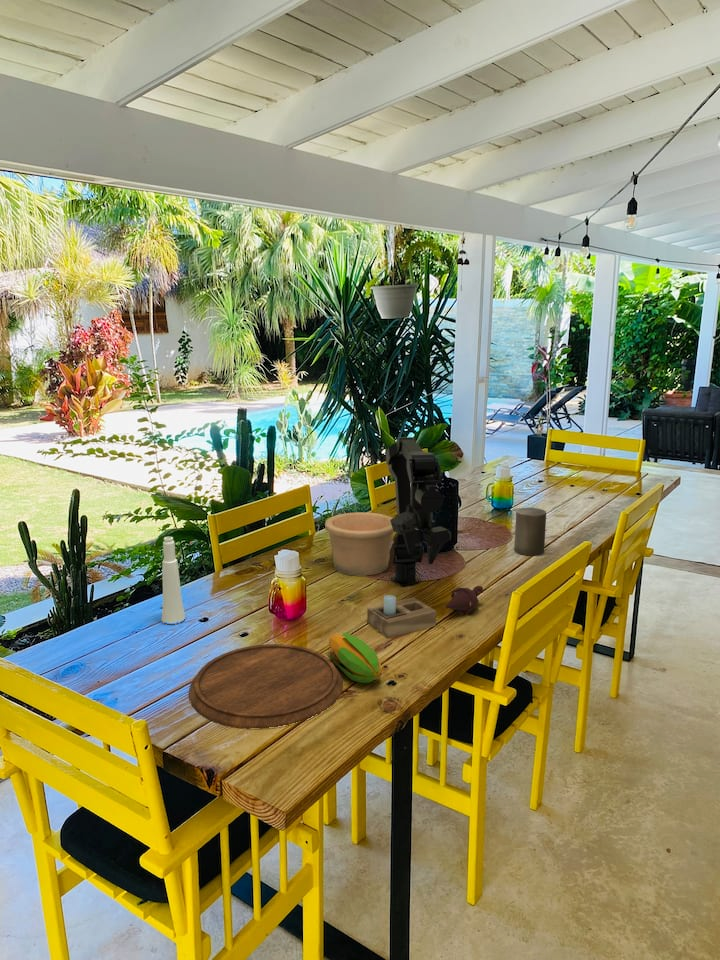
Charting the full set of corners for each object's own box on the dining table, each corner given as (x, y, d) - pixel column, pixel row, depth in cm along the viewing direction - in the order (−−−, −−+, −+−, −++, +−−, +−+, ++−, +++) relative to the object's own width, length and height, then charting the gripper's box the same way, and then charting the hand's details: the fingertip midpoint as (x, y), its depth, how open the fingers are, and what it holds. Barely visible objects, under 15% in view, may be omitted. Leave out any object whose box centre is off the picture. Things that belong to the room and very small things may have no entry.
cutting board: (374, 684, 151) (374, 673, 151) (258, 752, 128) (257, 739, 127) (273, 639, 172) (273, 629, 171) (158, 690, 149) (157, 679, 148)
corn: (361, 660, 145) (315, 623, 162) (359, 694, 146) (314, 655, 163) (391, 653, 149) (344, 618, 165) (389, 687, 150) (342, 649, 167)
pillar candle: (547, 556, 229) (550, 511, 225) (516, 556, 229) (519, 510, 226) (540, 546, 238) (543, 503, 235) (511, 546, 238) (513, 503, 235)
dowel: (391, 623, 179) (391, 594, 178) (397, 628, 177) (398, 598, 175) (381, 626, 178) (381, 596, 176) (387, 631, 175) (387, 600, 174)
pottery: (314, 574, 213) (314, 528, 209) (340, 551, 233) (340, 509, 230) (384, 583, 206) (384, 536, 203) (404, 558, 226) (405, 515, 223)
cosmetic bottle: (169, 627, 177) (164, 543, 172) (156, 620, 181) (151, 537, 176) (190, 619, 182) (185, 537, 176) (177, 613, 186) (172, 532, 180)
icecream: (461, 602, 177) (494, 590, 188) (438, 587, 182) (472, 576, 192) (453, 625, 179) (486, 612, 190) (431, 610, 184) (465, 598, 195)
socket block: (367, 622, 180) (367, 607, 179) (413, 611, 187) (413, 596, 186) (388, 638, 172) (388, 621, 171) (435, 625, 178) (436, 609, 177)
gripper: (376, 497, 188) (375, 553, 192) (416, 514, 173) (415, 575, 176) (411, 492, 194) (410, 546, 198) (453, 508, 178) (451, 567, 182)
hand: (420, 558), depth 188 cm, fingers open, 9 cm apart
